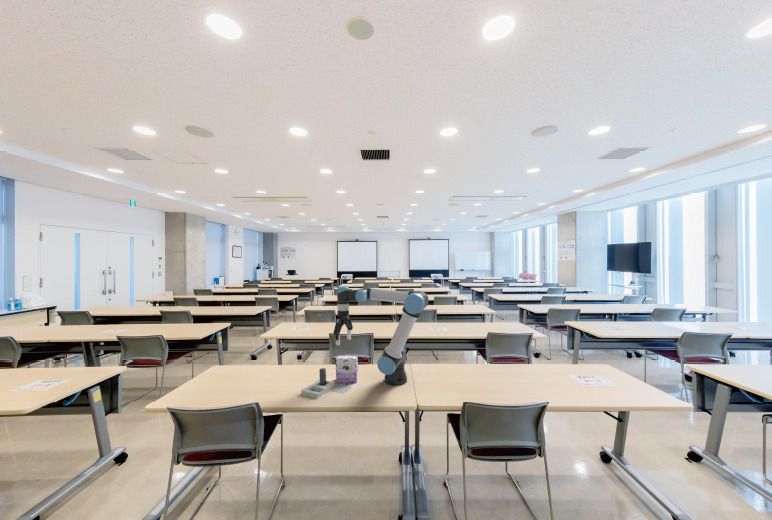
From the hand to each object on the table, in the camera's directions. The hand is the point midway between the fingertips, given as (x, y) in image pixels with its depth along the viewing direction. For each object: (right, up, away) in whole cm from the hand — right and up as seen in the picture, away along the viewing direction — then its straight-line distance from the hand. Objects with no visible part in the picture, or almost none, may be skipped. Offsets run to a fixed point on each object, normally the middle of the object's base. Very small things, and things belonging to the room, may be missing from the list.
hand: (343, 342), depth 208 cm
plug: (-12, -27, -7) cm, 31 cm away
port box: (-14, -27, -12) cm, 33 cm away
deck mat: (0, -27, -10) cm, 29 cm away
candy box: (+2, -27, +3) cm, 27 cm away
